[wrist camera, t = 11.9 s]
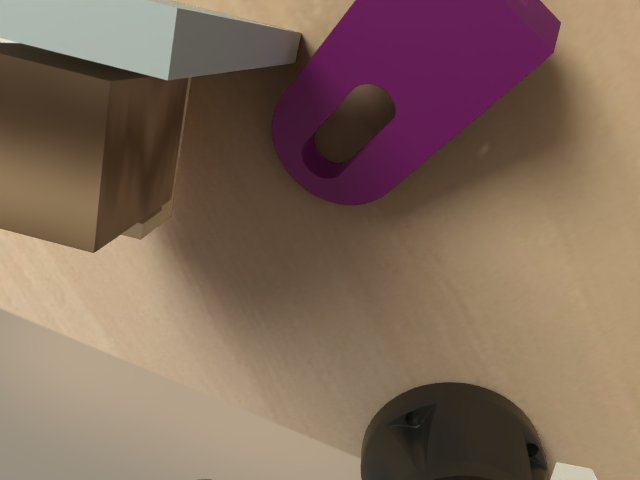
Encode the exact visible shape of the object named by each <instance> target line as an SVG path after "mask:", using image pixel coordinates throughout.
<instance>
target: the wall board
mask: <svg viewBox="0 0 640 480" xmlns="http://www.w3.org/2000/svg"><path fill="white" fill-rule="evenodd" d="M0 38H2V39H6V40H10V41H14V42H18V43H22V44H26V45H30V46H34V47H38V48H42V49H46V50H50V51H54V52H58V53H62V54H65V55H69V56H73V57H77V58H81V59H85V60H89V61H93V62H97V63H101V64H105V65H109V66H113V67H117V68H121V69H125V70H129V71H133V72H137V73H140V74H144V75H148V76H152V77H156V78H160V79H164V80H174V79H182V78H189V79H188V86H187V93H186V100H185V107H184V114H183V121H182V128H181V135H180V142H179V149H178V156H177V163H176V170H175V177H174V184H173V191H172V198H171V200H170V201H168V202H167V203H165V204H164V205H162V206H161V207H160V208H158V209H157V210H155V211H154V212H152V213H151V214H149V215H148V216H147V217H145V218H144V219H142V220H141V221H139V222H138V223H136V224H135V225H134V226H132V227H131V228H129V229H128V230H126V231H125V232H123V233H122V234H121V235H125V236H129V237H133V238H137V239H140V240H141V239H142V238H143V237H145V236H146V235H147V234H149V233H150V232H151V231H153V230H154V229H155V228H156V227H158V226H159V225H160V224H162V223H163V222H164V221H166V220H167V219H168V218H169V217H171V213H172V206H173V200H174V193H175V186H176V179H177V172H178V165H179V159H180V152H181V145H182V138H183V131H184V124H185V118H186V111H187V104H188V97H189V90H190V84H191V77H196V76H204V75H211V74H218V73H226V72H233V71H240V70H247V69H255V68H262V67H269V66H277V65H284V64H291V63H295V62H296V57H297V52H298V47H299V42H300V38H301V33H299V32H295V31H291V30H287V29H283V28H279V27H275V26H271V25H267V24H263V23H259V22H255V21H251V20H247V19H243V18H238V17H234V16H230V15H226V14H222V13H218V12H214V11H210V10H206V9H202V8H198V7H194V6H190V5H186V4H182V3H178V2H174V1H170V0H0Z"/></svg>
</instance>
